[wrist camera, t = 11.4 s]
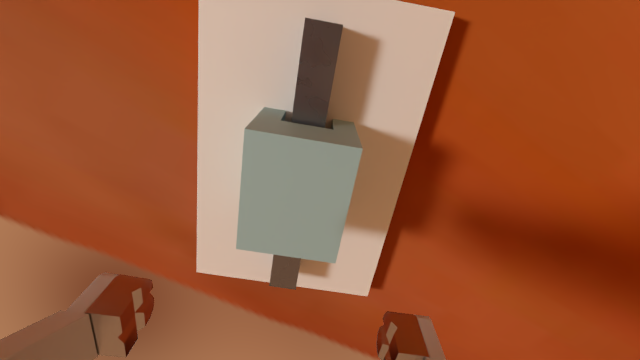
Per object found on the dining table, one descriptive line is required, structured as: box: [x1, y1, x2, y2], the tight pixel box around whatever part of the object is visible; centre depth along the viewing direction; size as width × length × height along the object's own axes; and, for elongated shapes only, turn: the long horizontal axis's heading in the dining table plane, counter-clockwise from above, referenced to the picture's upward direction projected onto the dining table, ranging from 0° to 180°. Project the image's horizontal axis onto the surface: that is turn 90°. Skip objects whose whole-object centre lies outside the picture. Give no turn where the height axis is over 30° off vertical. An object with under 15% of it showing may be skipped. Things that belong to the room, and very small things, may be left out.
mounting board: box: [197, 0, 455, 296], centre depth 25 cm, size 24×16×2 cm, turn 170°
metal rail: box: [269, 18, 343, 290], centre depth 23 cm, size 20×2×2 cm, turn 170°
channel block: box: [236, 107, 363, 263], centre depth 21 cm, size 8×6×6 cm
